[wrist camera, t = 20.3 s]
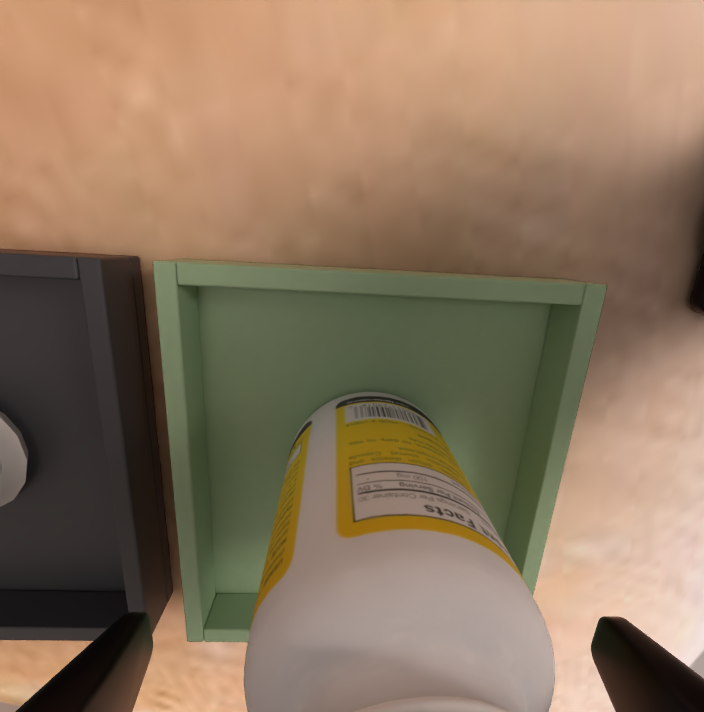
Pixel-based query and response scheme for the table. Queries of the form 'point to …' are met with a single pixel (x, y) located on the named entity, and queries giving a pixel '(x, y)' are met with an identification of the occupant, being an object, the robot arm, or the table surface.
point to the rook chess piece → (11, 460)
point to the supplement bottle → (389, 579)
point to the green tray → (352, 375)
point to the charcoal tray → (79, 448)
